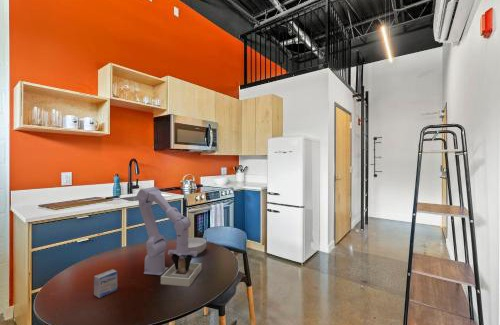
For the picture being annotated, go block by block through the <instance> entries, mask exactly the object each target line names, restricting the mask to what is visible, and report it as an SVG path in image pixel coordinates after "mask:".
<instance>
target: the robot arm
mask: <svg viewBox="0 0 500 325" xmlns="http://www.w3.org/2000/svg"><path fill="white" fill-rule="evenodd" d="M136 197H137V201H138V208H139V212H140V215H141V217H142V220H143V224H144V226H145V230H146V233H147V236H148V239H147V241H146V243H145V246H146V255H145V258H144V272H143V274H144V275H152V276H153V275H154V276H155V275H156V276H162V275H163V274H164V273H165V272H166V271H167V270H168V269H169V267H167V266H165V264H166V263H165V262H166V261H165V260H166V254H165V253H167V255H168V256H171V255H172V256H171V257H170V259H171V260H172V262H173V264H175V268H176V270H178V259H179V258H181V256H185V257H184V258H185V261H186V271H188V269H189V265H190V262H191V263H192V259H193V257H195V258H196V257H197V256H198V254H197V251H192V250H188V238H189V228H190V227H191V225H192V222H191V220H190V218H189V217H187V216H184V215H183V214H182V213H181V212H180V211H179V209H178V208H177V207H175V206H171V204H169V203H168V200H167V199H166V198H165V197H164V196H163V194H162V191H161V190H160V189H159V188H158V186H152V187H145V188H140V189H139V190H138V192H137V194H136ZM153 203H156V204H157V205H158V206H159V207H161V209H162V210H163V211H164V212H165V216H166V218H168V219H169V221H171V223H172V224H173V228H174V230H175V234H176V248H175V249H168V247H169V244H168V242H167V240H166V239H165V236H164V235H162V234H160V231H159V227H158V224H157V221H156V218H155V215H154V212H153V208H152V204H153ZM166 250H168V251H166Z"/></svg>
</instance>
